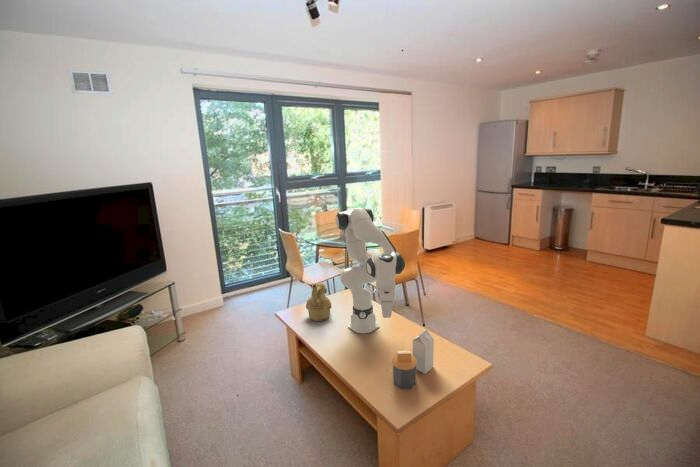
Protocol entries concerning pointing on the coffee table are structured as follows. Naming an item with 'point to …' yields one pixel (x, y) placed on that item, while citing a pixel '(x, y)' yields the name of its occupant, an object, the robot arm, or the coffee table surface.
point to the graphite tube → (404, 378)
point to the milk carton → (423, 351)
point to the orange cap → (404, 360)
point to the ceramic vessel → (319, 303)
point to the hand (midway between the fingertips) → (385, 316)
